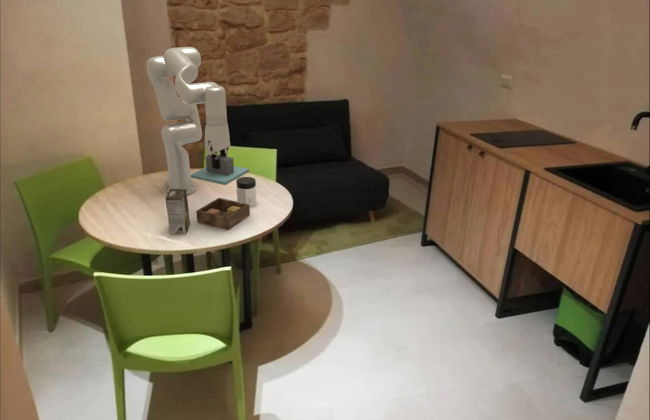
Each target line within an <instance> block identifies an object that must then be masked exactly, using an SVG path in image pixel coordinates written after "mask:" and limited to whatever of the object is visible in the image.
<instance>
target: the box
mask: <svg viewBox="0 0 650 420" xmlns="http://www.w3.org/2000/svg"><path fill="white" fill-rule="evenodd" d="M231 206H236V207H240V209H239V210H237V211H236V212H234V213H232V214H231V215H229V216H228V217H227V209H228V208H230V207H231ZM211 208H212V209H217V210H220V215H217V214H213V213H208V212H206V211H208V210H210V209H211ZM250 209H251V208H250V207H249V204H246V203H241V202H237V201H236V200H233V199H232V200H231V199H226V198H224V197H223V198H222V197H217V198H216V199H214V200H212V201H211V202H209V203H207V204H206V205H204V206H202V207H200V208H198V209H197V210H196V221H197V222H196V223H199V224H202V225H205V226H206V225H207V226H211V227H215V228H218V229H223V230H226V231H230V230H231V229H232V228H234V227H236V226H238V224H240V223H241V222H243V221H244V220H245V219H247V218H248V217H249V216H251V214H250V213H251V211H250Z"/></svg>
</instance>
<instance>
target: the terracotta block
mask: <svg viewBox="0 0 650 420" xmlns="http://www.w3.org/2000/svg"><path fill="white" fill-rule="evenodd" d="M206 212H208V213H213V214H217V215H220V210H217V209H212V208H211V209H210V210H208V211H206Z"/></svg>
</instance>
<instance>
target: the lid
mask: <svg viewBox="0 0 650 420" xmlns="http://www.w3.org/2000/svg"><path fill="white" fill-rule="evenodd" d="M214 155H215V153H214ZM218 159H219V162H220V169H214V168H212V159H211V158H210V156H208V155H206V156H205V165H206V166H204V167H203V168H201V169H199V170H197V171H195V172H193V173H190V174H191V179H196V180H200V181H204V182H209V183H214V184H218V185H223V186H227V185H229V184H230V183H232V182H234V181H236V180H237V179H238V178H241V177H244V175H246V174H248V173H249V172H250V168H247V167H246V168H245V167H242V166H235V165H234V157H230V156H227V155H226V156H221V155H219V154H218Z"/></svg>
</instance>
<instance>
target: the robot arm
mask: <svg viewBox="0 0 650 420" xmlns="http://www.w3.org/2000/svg"><path fill="white" fill-rule="evenodd" d="M201 64H202V57H201V53H200V52H199V50H197V48H196V47H194V46H183V47H171V48H168V49H167V50H165V51H164V53H163V55H158V56H153V57H150V58H149V59H148V60H147V62H146V72H147V75H148V79H149V81H150V82H151V84H152V86H153V88H154V93H155V96H156V101H157V105H158V110H159V112H160V116H161V119H162V120H164V121H167V122H169V121H171V122H172V121H177V120H178V121H179V120H186V121H183V122H181V121H180V122H175V123H174V122H173V123H169V124H167V125H165V126H163V127H162V128H161V138H162V141H163V145H164V148H165V149H164V150H165V156H166V162H167V171H168V178H166V179H165V181H164V183H163V184H164V185H166V186H168V187H167V190H166V192H167V193H168V192H169V190H170V189H186V192H187V196H188V195H191V194H193V193H194V192H196V186H195V185H193V184H192V178H191V174H192V173H191V167H190V166H191V165H190V158H189V156H190V155H189V152H188V151H187V150H186V149H185V148H184V147H183V145H186V144H192V143H197V142H199V141H200V140H201V139H202V137H203V130H202V129H203V128H202V126H201V120H200V115H199V109H198V105H203V104H204V106H205V107H204V110H205V119H206V120H205V122H206V125H205V129H204V149H205V151H206V153H205V154H206V156H210V158H211V159H212V168H214V169H220V162H219V159H218V155H221V156H227V155H228V151H229V148H230V146H231V141H230V140H231V139H230V137H231V136H230V130H229V124H228V116H227V99H226V97H227V96H226V89H225V88H224V87H223V86H221V85H219V84H218V83H216V82H214V81H204V82H195V83H193V82H194V81H195V80H196V79H197V77H198V75H199V67H200V66H201ZM169 77H175V78H174V79H175V80H174V83H173V81H171V80H170V79H169ZM214 154H215V155H214Z"/></svg>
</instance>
